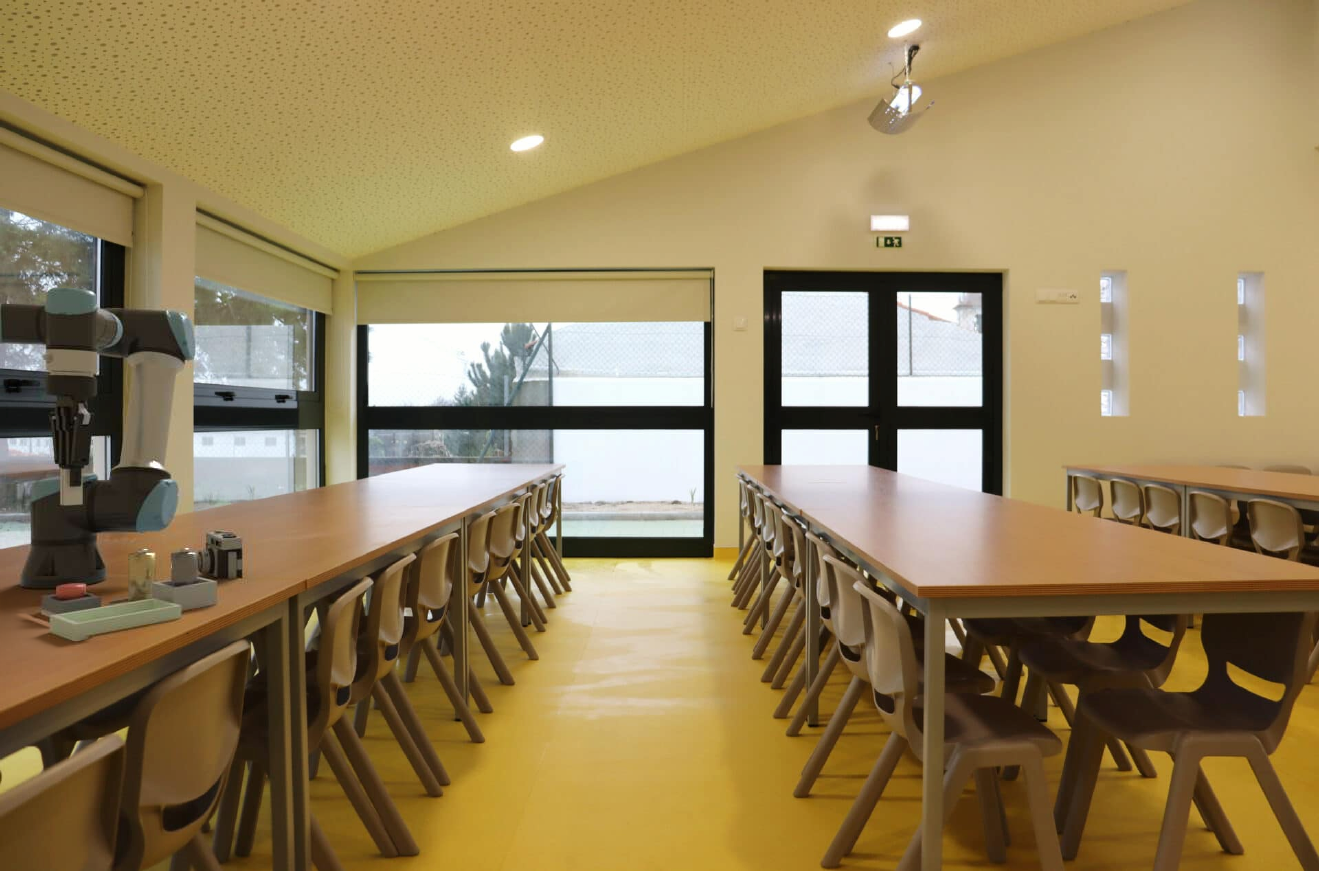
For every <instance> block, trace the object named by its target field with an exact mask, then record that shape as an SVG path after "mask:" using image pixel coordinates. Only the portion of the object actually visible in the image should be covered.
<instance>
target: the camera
mask: <svg viewBox="0 0 1319 871" xmlns="http://www.w3.org/2000/svg"><path fill="white" fill-rule="evenodd" d="M205 537H206V539H205V540H206V542H205V548H204V549H201V550H199V551H197V552H198V573H199V574H203V575H205V574H206V576H207V575H209V576H211V577H212V578H214V579H221V580H229V579H236V578H238V579H243V537H241V536H239V535H237V534H235V533H233V532H232V531H225V530H221V529H218V530H217V529H216V530H214V531H209V532H208V531H207V532H206V533H205Z"/></svg>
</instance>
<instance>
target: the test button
mask: <svg viewBox="0 0 1319 871" xmlns="http://www.w3.org/2000/svg"><path fill="white" fill-rule="evenodd" d="M55 589H56V593H55V594H56V598H57V599H75V598H81V597H84V596H86V593H87V585H86V584H84V583H73V584H64V585H59V586H57V587H56V588H55Z"/></svg>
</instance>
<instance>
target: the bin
mask: <svg viewBox="0 0 1319 871" xmlns="http://www.w3.org/2000/svg"><path fill="white" fill-rule="evenodd" d="M153 598H156V599H160V600H163V601H167V602H170V603H174V604H178V605H181V612H184V611H188V610H195V609H199V608H204V607H210V606H215V605H218V581H217V580H213V579H209V578H203V577H202V576H201V577H200V576H198V584H192V585H186V586H180V587H174V586H171V579H169V580H163V581H156V582H155V583H152V599H153Z"/></svg>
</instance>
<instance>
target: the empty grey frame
mask: <svg viewBox="0 0 1319 871" xmlns="http://www.w3.org/2000/svg"><path fill="white" fill-rule="evenodd" d="M124 602H129V597H125V598H118V599H111V600H109V603H110V604H116V603H117V604H118V603H124Z"/></svg>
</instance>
